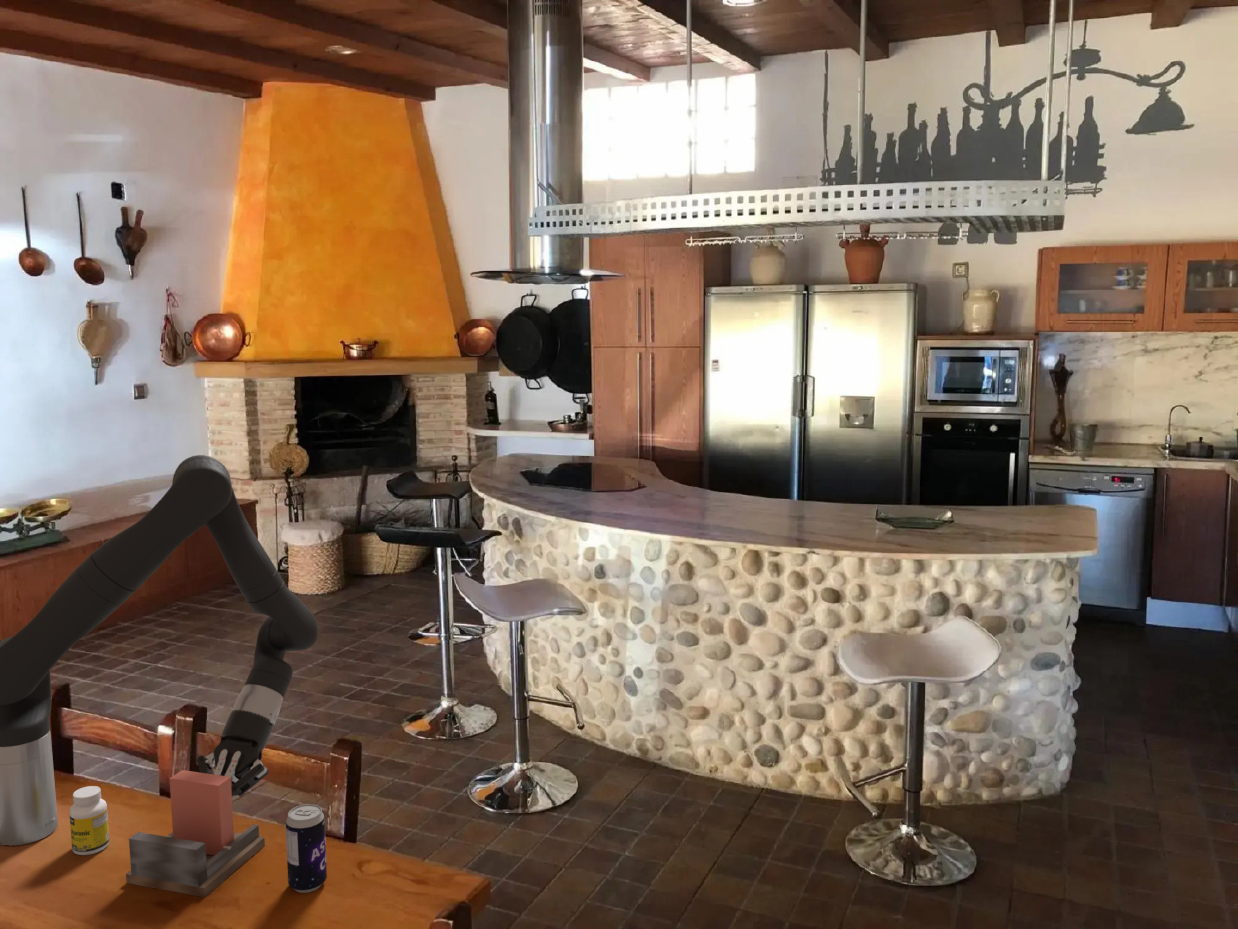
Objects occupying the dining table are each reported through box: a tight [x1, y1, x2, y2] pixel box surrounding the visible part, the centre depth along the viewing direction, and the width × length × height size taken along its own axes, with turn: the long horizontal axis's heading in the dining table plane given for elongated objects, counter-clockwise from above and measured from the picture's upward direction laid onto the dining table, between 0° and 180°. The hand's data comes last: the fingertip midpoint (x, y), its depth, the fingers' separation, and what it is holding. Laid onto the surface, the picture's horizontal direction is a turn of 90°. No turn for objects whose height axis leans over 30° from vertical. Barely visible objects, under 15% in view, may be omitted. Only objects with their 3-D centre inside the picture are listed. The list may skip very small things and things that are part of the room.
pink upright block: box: [169, 769, 235, 856], centre depth 155 cm, size 9×3×12 cm, turn 75°
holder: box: [125, 824, 266, 898], centre depth 154 cm, size 14×15×8 cm
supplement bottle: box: [68, 785, 110, 856], centre depth 159 cm, size 5×5×10 cm
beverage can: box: [285, 803, 328, 894], centre depth 149 cm, size 6×6×12 cm
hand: (210, 818), depth 158 cm, fingers closed
